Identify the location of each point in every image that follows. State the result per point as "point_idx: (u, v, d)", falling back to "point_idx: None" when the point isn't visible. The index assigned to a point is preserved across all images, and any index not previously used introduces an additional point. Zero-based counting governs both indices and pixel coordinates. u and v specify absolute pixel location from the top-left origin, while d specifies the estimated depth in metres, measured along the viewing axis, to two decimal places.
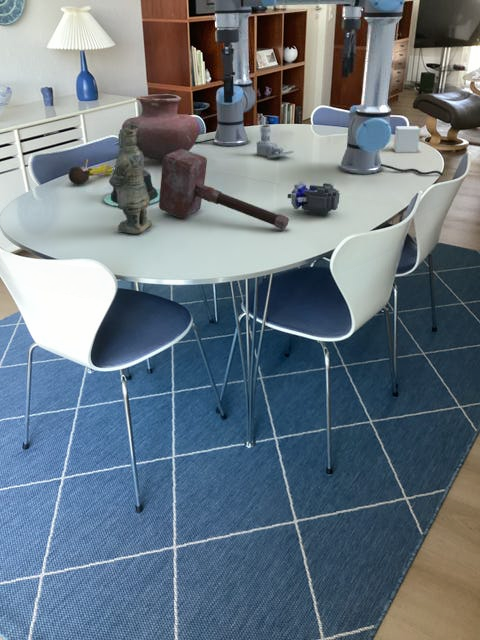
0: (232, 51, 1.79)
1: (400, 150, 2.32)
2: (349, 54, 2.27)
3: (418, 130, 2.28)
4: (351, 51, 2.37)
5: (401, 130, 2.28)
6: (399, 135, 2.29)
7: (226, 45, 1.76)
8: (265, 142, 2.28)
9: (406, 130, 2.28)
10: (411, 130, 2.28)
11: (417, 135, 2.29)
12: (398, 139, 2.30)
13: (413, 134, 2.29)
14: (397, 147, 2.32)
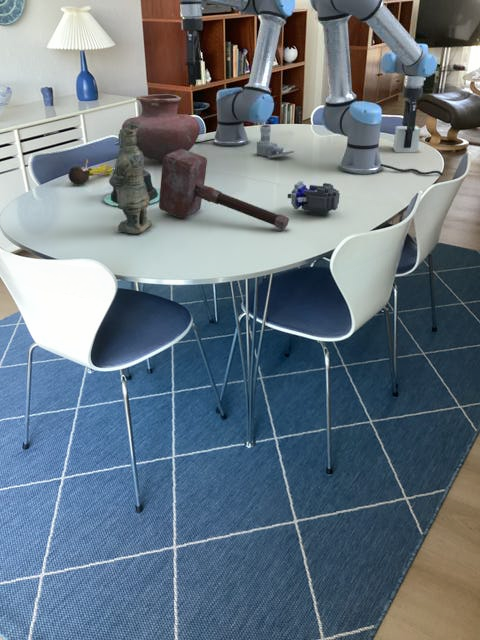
0: None
1: (400, 150, 2.32)
2: (194, 59, 1.99)
3: (418, 130, 2.28)
4: (196, 55, 2.09)
5: (401, 130, 2.28)
6: (399, 135, 2.29)
7: None
8: (265, 142, 2.28)
9: None
10: None
11: (417, 135, 2.29)
12: (398, 139, 2.30)
13: (413, 134, 2.29)
14: (397, 147, 2.32)
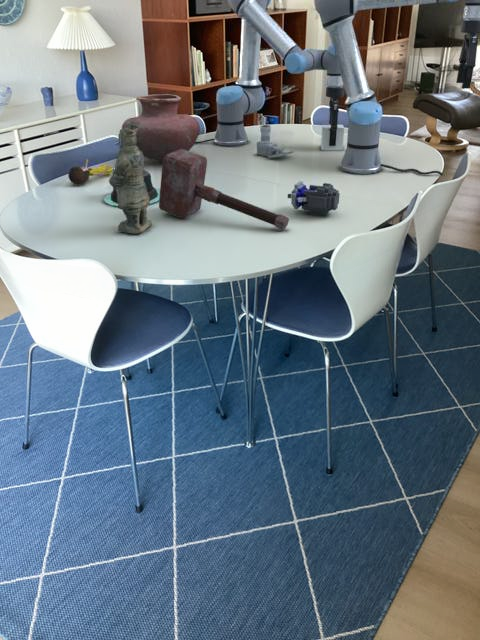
0: None
1: (326, 148, 2.38)
2: None
3: (342, 129, 2.33)
4: None
5: (325, 129, 2.34)
6: (324, 133, 2.35)
7: None
8: (265, 142, 2.28)
9: None
10: None
11: (341, 133, 2.34)
12: (323, 137, 2.36)
13: (337, 132, 2.34)
14: (323, 145, 2.37)
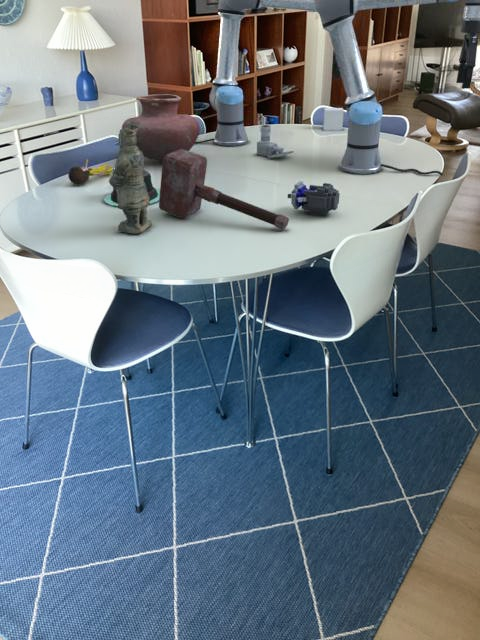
0: None
1: (327, 128, 2.72)
2: None
3: (341, 111, 2.68)
4: None
5: (327, 111, 2.68)
6: (326, 115, 2.69)
7: None
8: (265, 142, 2.28)
9: (331, 111, 2.68)
10: (336, 111, 2.68)
11: (341, 115, 2.69)
12: (325, 119, 2.70)
13: (337, 114, 2.69)
14: (325, 126, 2.72)
